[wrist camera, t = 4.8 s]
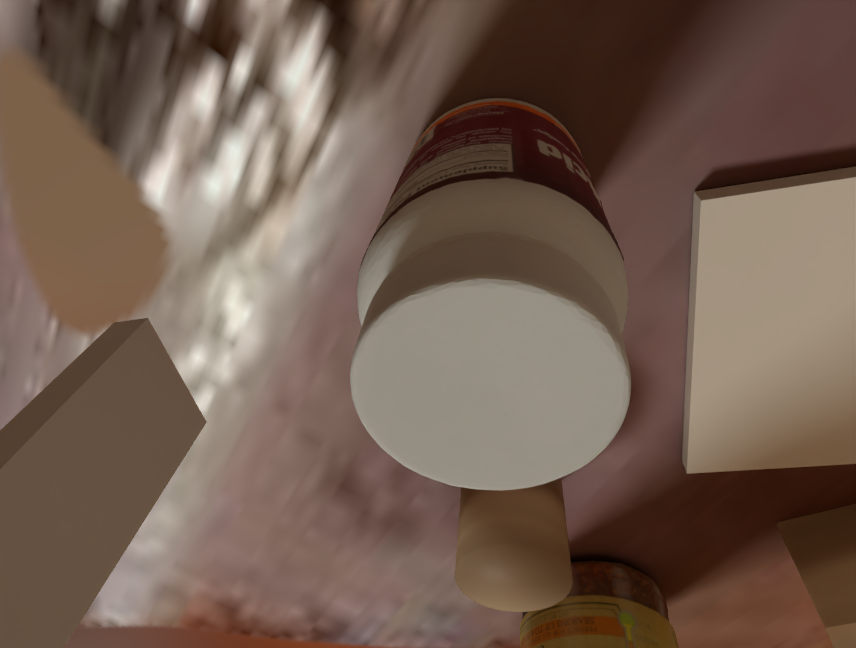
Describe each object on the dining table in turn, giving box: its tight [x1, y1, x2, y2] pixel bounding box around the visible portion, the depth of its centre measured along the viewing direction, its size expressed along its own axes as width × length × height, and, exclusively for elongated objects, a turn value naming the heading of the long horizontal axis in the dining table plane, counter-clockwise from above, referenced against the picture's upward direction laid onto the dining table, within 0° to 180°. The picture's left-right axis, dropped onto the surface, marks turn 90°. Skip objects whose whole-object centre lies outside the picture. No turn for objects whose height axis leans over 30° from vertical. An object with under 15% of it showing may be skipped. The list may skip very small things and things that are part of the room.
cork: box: [455, 478, 573, 612], centre depth 19 cm, size 4×4×4 cm
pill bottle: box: [350, 98, 631, 490], centre depth 11 cm, size 5×5×8 cm
